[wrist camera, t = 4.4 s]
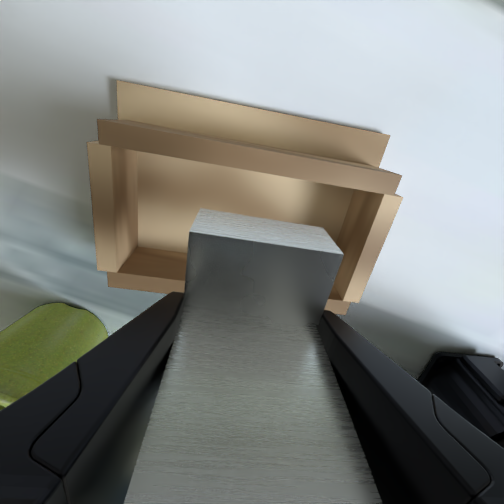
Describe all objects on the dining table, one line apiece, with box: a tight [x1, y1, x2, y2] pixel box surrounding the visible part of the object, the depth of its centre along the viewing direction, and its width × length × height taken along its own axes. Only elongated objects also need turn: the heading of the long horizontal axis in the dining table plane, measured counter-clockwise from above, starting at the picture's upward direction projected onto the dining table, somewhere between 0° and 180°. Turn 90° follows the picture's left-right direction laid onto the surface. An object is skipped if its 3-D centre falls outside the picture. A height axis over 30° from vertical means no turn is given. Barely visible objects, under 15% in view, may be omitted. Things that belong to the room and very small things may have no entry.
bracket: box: [124, 208, 383, 504], centre depth 6 cm, size 4×4×7 cm
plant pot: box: [0, 303, 108, 410], centre depth 17 cm, size 9×9×9 cm
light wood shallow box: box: [87, 80, 403, 315], centre depth 16 cm, size 12×15×4 cm
